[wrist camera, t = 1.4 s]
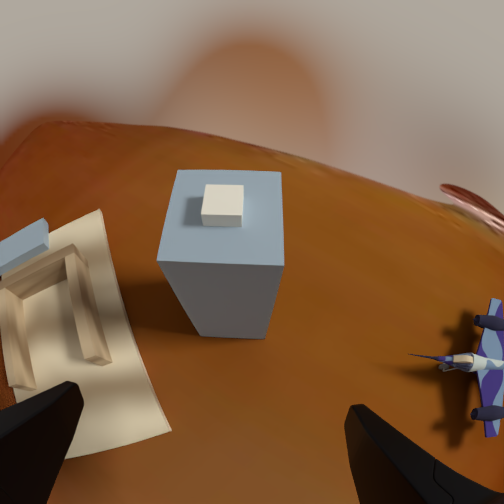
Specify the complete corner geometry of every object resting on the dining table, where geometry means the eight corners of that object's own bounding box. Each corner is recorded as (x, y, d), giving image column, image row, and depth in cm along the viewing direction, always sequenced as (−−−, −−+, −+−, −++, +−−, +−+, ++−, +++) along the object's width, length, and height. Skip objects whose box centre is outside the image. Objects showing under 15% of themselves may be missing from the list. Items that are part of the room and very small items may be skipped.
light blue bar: (48, 224, 26) (43, 217, 25) (49, 249, 25) (43, 242, 24) (-21, 264, 23) (-27, 259, 22) (-22, 288, 22) (-28, 284, 21)
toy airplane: (390, 359, 21) (411, 350, 18) (474, 285, 25) (494, 270, 21) (447, 468, 16) (471, 471, 12) (521, 377, 19) (543, 370, 16)
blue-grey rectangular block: (264, 339, 22) (286, 255, 11) (200, 335, 22) (151, 250, 11) (265, 280, 25) (282, 160, 13) (205, 278, 25) (175, 158, 13)
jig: (171, 430, 18) (157, 434, 15) (41, 462, 15) (15, 465, 12) (102, 213, 28) (88, 190, 25) (5, 262, 25) (-13, 245, 21)
